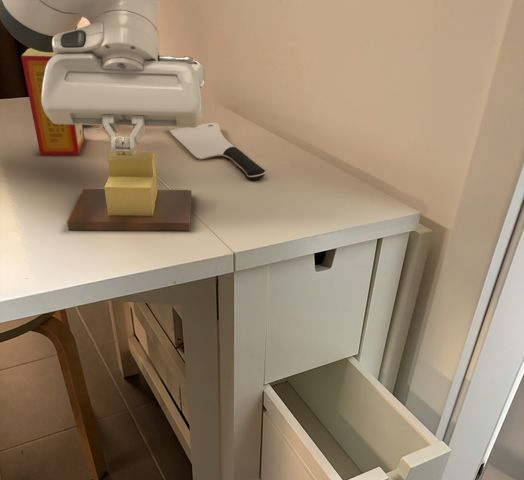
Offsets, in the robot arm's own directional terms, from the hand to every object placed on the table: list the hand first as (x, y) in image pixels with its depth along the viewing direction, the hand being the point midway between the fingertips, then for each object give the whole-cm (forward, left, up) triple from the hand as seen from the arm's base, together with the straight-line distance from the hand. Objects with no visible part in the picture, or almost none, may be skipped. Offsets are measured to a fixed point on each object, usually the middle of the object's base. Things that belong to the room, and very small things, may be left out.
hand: (123, 153), depth 71 cm
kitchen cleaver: (+12, +31, -10) cm, 35 cm away
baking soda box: (-16, +33, -10) cm, 38 cm away
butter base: (0, +6, -8) cm, 10 cm away
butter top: (0, +3, -6) cm, 7 cm away
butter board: (0, +3, -9) cm, 10 cm away
